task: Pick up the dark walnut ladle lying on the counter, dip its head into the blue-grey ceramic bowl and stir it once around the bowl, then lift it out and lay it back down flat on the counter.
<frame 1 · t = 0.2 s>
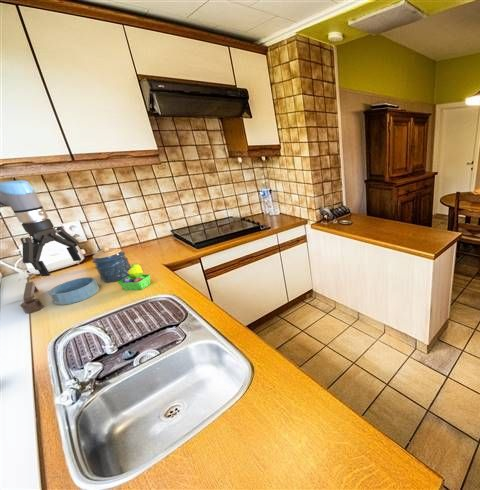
hand: (62, 267, 113), 19 cm above the worktop, tool pointing down, fingers open, 13 cm apart
bowl: (78, 296, 127), on the worktop
fruit basket: (139, 286, 133), on the worktop
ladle: (35, 299, 127), on the worktop
cork: (110, 266, 157), on the worktop
canister: (118, 276, 144), on the worktop
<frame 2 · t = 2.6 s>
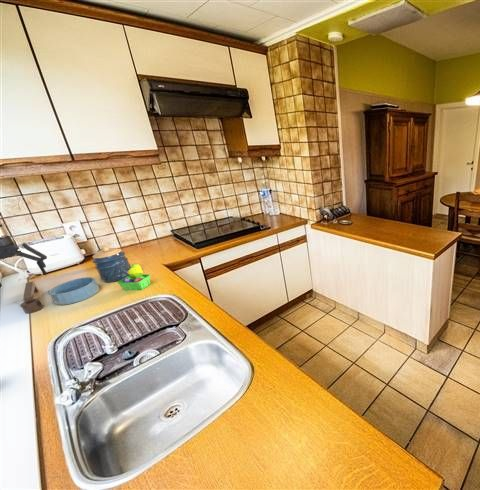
hand: (23, 280, 122), 11 cm above the worktop, tool pointing down, fingers open, 13 cm apart
nothing on the worktop moved.
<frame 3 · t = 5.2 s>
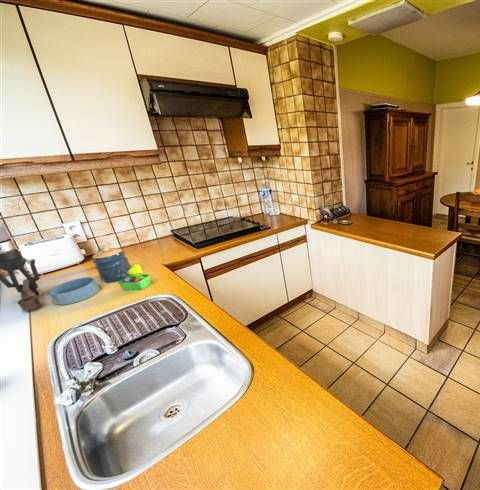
hand: (32, 295, 126), 2 cm above the worktop, tool pointing down, fingers closed on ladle, 2 cm apart
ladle: (33, 296, 126), point 2 cm above the worktop, touching gripper
everything else where it was.
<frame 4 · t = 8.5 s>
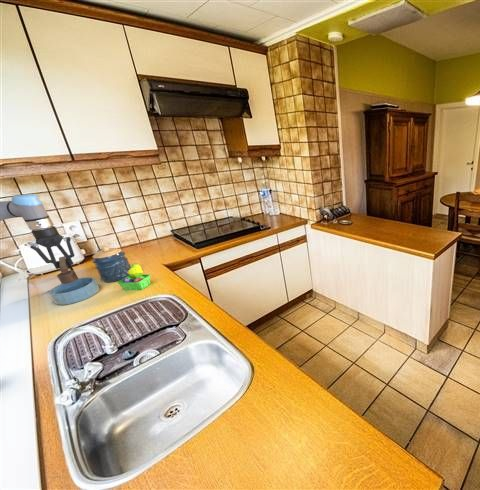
hand: (68, 272, 132), 9 cm above the worktop, tool pointing down, fingers closed on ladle, 2 cm apart
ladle: (68, 272, 132), point 8 cm above the worktop, touching gripper
everything else where it was.
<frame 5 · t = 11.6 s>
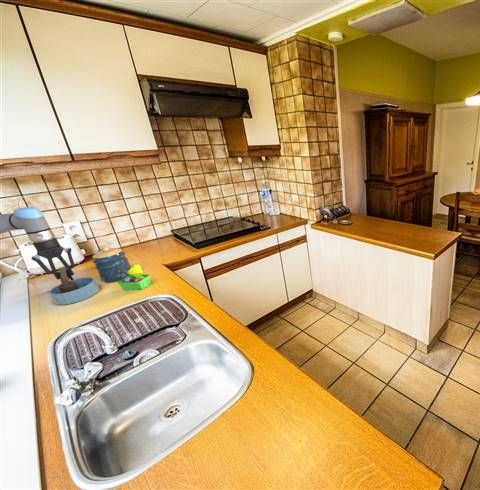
hand: (69, 282, 133), 3 cm above the worktop, tool pointing down, fingers closed on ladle, 2 cm apart
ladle: (69, 283, 134), point 3 cm above the worktop, touching gripper
everything else where it was.
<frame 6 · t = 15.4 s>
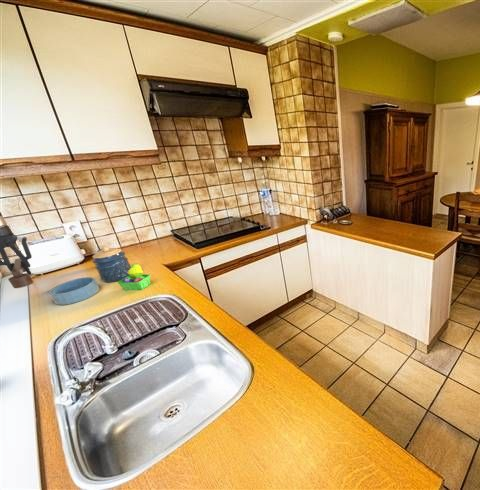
hand: (25, 275, 122), 13 cm above the worktop, tool pointing down, fingers closed on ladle, 2 cm apart
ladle: (25, 275, 122), point 12 cm above the worktop, touching gripper
everything else where it was.
when the fingers open (0 cm above the worktop, at t = 18.3 s): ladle stays where it is, on the worktop.
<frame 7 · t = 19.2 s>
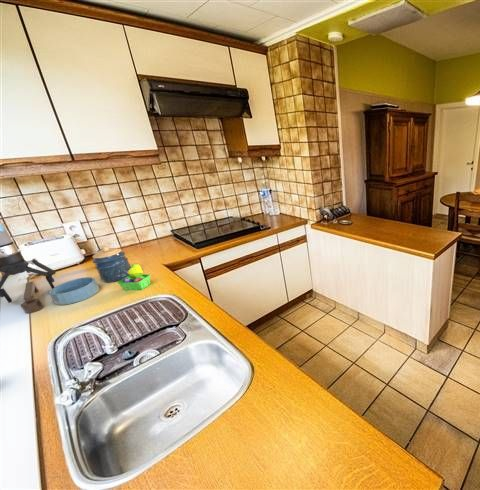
hand: (33, 295, 126), 2 cm above the worktop, tool pointing down, fingers open, 13 cm apart
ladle: (36, 299, 127), on the worktop
everything else where it was.
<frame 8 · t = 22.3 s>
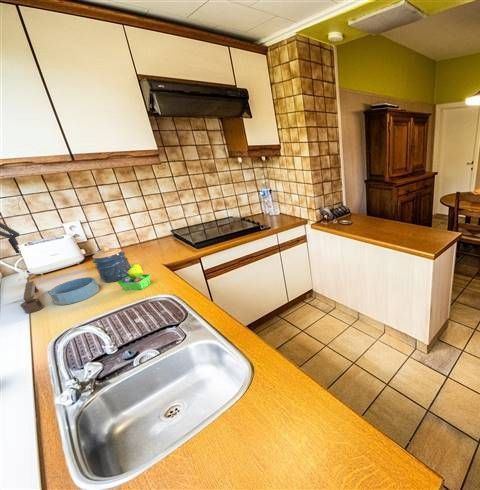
nothing on the worktop moved.
at the end: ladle inside the target area (0.0 cm from its centre), on the worktop; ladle tilted 0°; the gripper is holding nothing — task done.
